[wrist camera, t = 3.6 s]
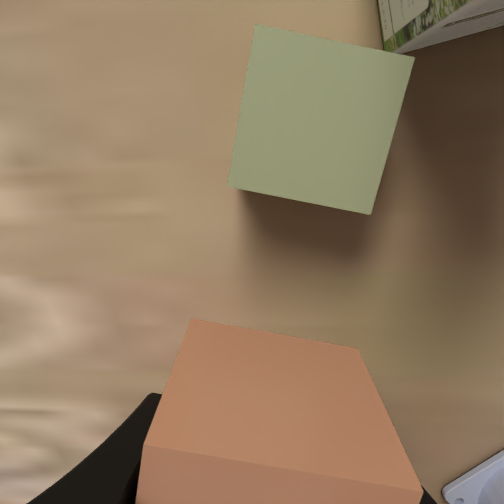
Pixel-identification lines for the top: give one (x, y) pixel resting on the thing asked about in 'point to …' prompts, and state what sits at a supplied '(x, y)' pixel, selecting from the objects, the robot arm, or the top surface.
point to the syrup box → (434, 21)
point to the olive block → (317, 119)
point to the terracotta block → (271, 426)
